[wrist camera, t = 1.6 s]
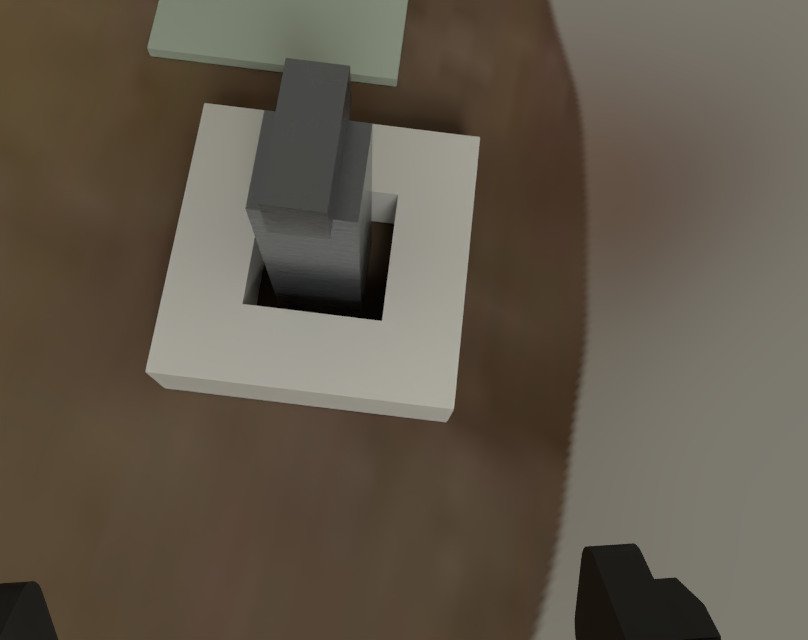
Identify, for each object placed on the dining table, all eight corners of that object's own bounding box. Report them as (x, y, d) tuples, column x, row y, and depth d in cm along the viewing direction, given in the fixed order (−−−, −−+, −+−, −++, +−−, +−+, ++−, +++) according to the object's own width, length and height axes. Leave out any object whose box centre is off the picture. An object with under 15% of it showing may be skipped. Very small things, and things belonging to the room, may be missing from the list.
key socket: (164, 388, 33) (145, 371, 30) (217, 138, 36) (204, 103, 33) (446, 422, 33) (453, 409, 30) (471, 170, 36) (480, 137, 34)
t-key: (276, 322, 34) (230, 200, 22) (294, 217, 35) (259, 54, 24) (358, 332, 34) (354, 216, 22) (373, 227, 35) (375, 68, 24)
